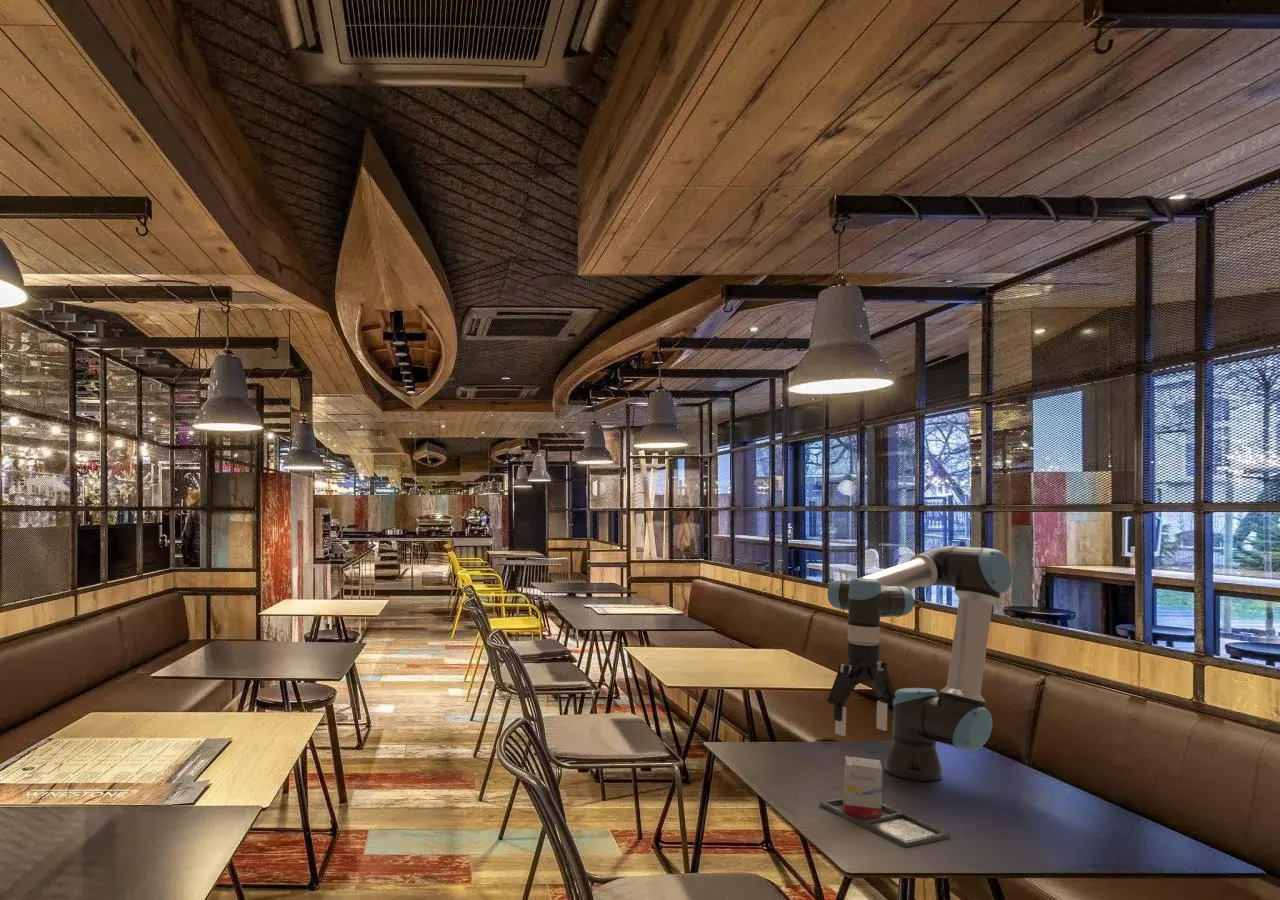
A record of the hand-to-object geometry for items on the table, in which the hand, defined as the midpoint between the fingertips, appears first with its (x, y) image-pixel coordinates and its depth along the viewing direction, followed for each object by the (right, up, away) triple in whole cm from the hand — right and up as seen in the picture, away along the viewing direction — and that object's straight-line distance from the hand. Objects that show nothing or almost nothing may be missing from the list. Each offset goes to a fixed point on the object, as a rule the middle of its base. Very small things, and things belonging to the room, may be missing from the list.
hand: (861, 732), depth 198 cm
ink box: (0, -19, -1) cm, 19 cm away
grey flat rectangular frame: (+3, -18, -7) cm, 20 cm away
